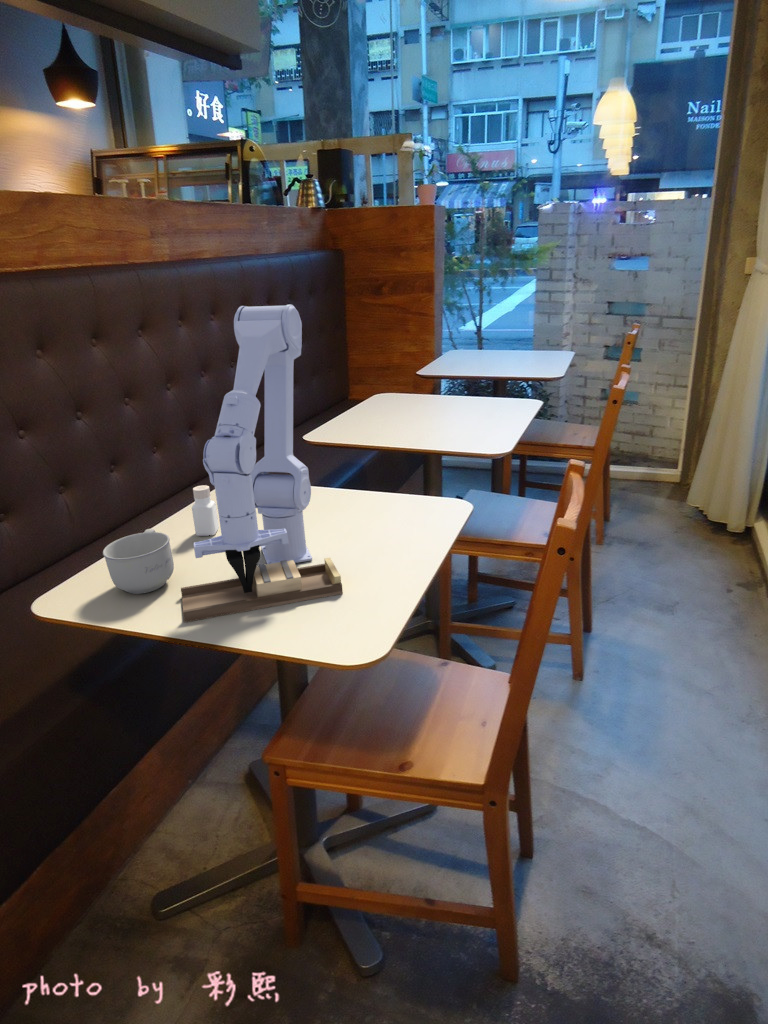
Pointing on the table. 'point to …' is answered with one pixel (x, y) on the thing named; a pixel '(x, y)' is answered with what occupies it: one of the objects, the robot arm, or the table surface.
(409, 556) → the table surface
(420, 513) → the table surface
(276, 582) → the banded tan block
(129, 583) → the teacup
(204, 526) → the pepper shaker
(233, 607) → the bay
